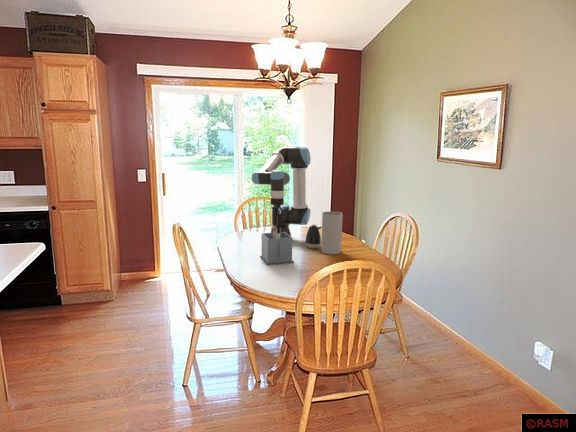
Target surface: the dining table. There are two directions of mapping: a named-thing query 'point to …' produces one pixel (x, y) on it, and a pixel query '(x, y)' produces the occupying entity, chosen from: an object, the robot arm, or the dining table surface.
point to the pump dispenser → (313, 237)
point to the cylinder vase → (331, 232)
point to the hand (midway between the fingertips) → (276, 237)
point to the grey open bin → (276, 249)
